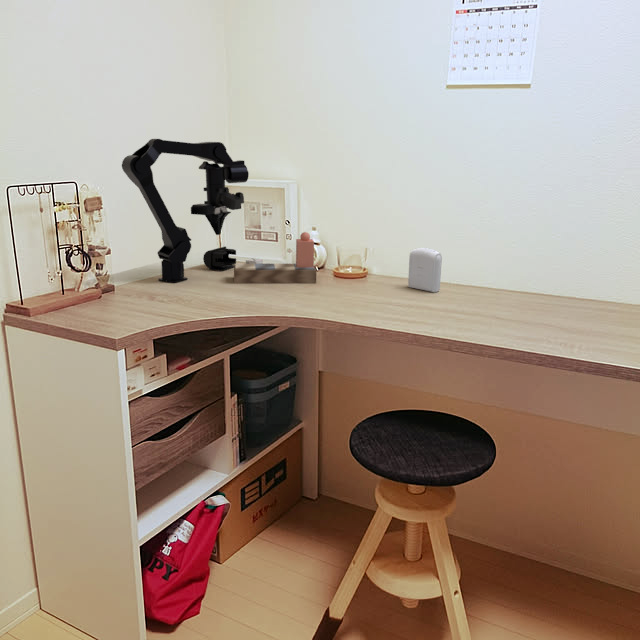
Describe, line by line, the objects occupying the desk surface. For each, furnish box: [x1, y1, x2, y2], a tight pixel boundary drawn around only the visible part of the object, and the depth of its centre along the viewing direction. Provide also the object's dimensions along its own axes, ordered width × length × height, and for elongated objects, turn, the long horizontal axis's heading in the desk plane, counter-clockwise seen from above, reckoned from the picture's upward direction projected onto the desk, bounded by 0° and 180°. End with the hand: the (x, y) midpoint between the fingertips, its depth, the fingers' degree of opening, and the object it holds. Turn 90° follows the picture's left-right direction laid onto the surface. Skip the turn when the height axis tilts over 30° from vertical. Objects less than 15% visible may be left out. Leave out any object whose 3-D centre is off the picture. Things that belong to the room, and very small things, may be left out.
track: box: [233, 262, 317, 284], centre depth 201 cm, size 25×9×4 cm, turn 97°
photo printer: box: [407, 247, 443, 293], centre depth 193 cm, size 10×4×12 cm, turn 44°
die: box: [245, 257, 264, 264], centre depth 213 cm, size 4×4×4 cm
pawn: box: [295, 231, 315, 267], centre depth 201 cm, size 5×5×10 cm
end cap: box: [202, 246, 237, 272], centre depth 218 cm, size 10×7×7 cm
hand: (218, 234), depth 204 cm, fingers closed
